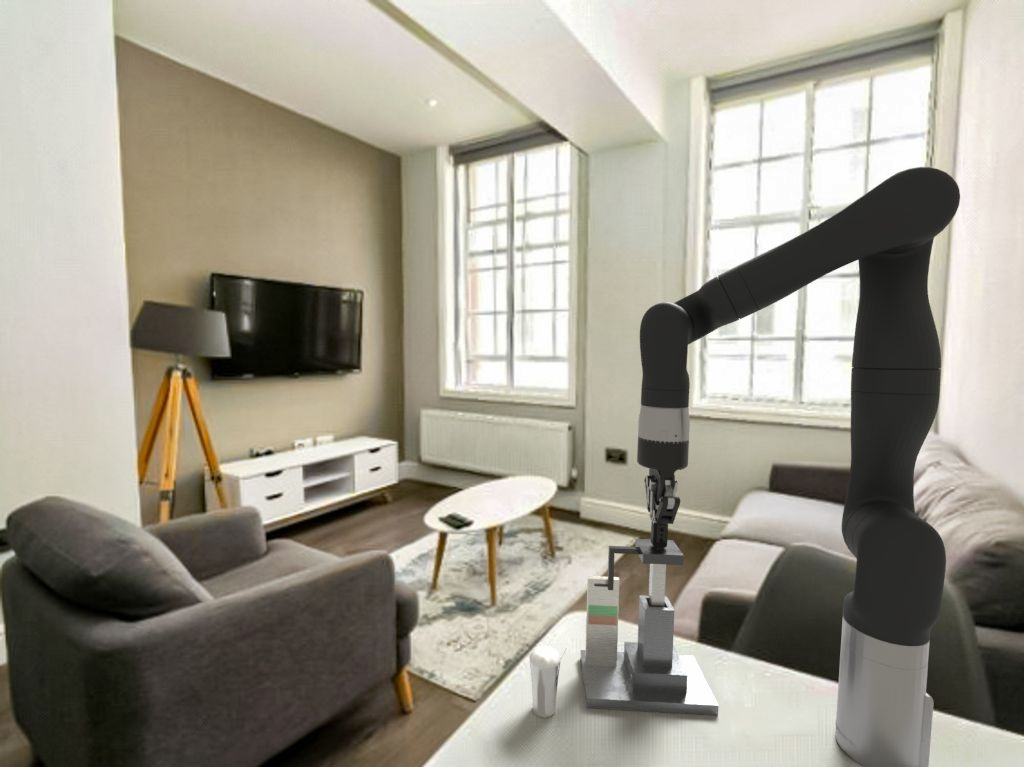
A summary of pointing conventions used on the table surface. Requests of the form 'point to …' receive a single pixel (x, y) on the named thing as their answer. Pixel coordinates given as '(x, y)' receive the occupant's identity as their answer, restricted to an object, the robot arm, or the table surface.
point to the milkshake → (544, 679)
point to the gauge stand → (638, 660)
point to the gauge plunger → (657, 565)
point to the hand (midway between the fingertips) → (658, 545)
